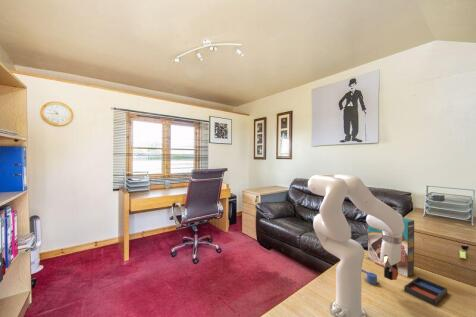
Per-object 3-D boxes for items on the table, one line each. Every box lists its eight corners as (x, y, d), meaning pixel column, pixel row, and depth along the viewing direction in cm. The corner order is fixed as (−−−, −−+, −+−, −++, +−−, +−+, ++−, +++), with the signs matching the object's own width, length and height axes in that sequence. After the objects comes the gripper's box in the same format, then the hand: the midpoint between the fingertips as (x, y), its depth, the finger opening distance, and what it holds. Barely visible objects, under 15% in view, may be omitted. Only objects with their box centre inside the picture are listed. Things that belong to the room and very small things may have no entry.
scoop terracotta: (394, 281, 95) (394, 272, 95) (373, 271, 103) (373, 263, 103) (398, 278, 98) (398, 269, 98) (377, 269, 105) (378, 261, 105)
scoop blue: (374, 285, 106) (374, 278, 105) (356, 276, 113) (356, 269, 113) (378, 283, 108) (378, 275, 108) (361, 274, 116) (361, 267, 115)
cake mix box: (368, 258, 133) (368, 211, 132) (374, 256, 135) (374, 210, 134) (407, 277, 112) (407, 222, 112) (413, 274, 115) (414, 220, 114)
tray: (434, 305, 92) (434, 300, 91) (404, 291, 101) (404, 286, 101) (447, 293, 99) (447, 288, 99) (417, 281, 109) (417, 276, 109)
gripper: (391, 232, 106) (390, 268, 106) (373, 239, 97) (372, 277, 97) (409, 238, 99) (408, 275, 99) (392, 245, 91) (391, 286, 91)
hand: (390, 276), depth 98 cm, fingers closed on scoop terracotta, 4 cm apart
